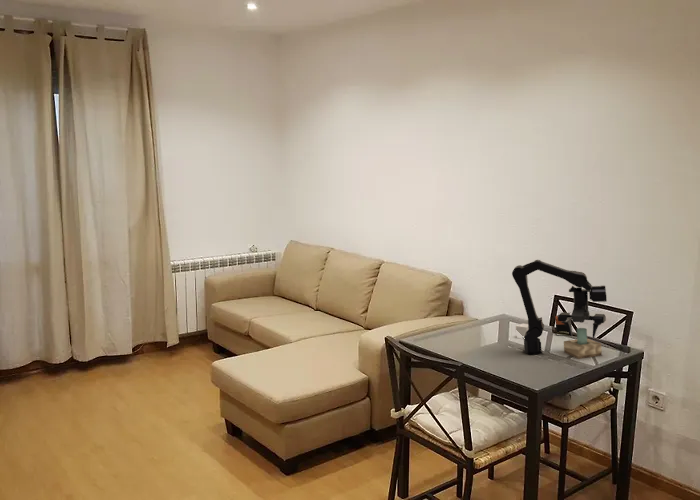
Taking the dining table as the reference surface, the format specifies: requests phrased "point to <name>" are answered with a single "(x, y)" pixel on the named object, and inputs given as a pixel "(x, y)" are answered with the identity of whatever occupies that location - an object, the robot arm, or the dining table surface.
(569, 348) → the bore block
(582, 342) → the peg
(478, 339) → the dining table surface
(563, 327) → the battery
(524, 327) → the light grey cone
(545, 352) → the dining table surface
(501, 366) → the dining table surface
